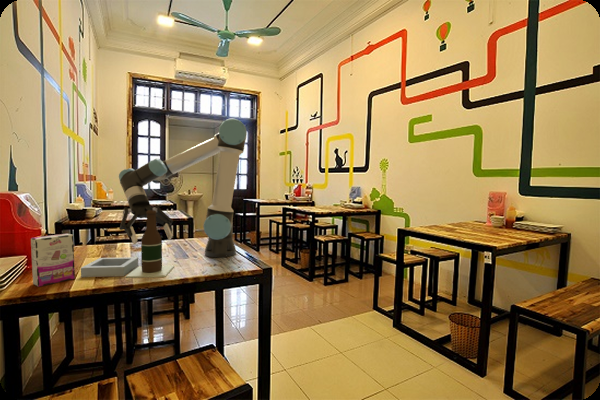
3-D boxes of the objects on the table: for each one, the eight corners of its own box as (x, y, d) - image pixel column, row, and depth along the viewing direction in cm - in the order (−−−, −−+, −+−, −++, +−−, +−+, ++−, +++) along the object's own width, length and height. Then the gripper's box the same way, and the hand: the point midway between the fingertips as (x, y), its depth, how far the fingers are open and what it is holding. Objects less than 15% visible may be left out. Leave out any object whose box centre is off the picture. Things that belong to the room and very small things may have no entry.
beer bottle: (147, 274, 119) (146, 212, 117) (137, 270, 124) (136, 210, 122) (166, 270, 125) (165, 210, 124) (156, 266, 130) (155, 209, 128)
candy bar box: (69, 276, 117) (68, 233, 116) (75, 278, 114) (74, 234, 113) (31, 284, 107) (30, 237, 106) (37, 287, 105) (35, 239, 104)
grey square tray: (138, 265, 133) (138, 257, 133) (124, 275, 119) (124, 266, 118) (100, 266, 131) (100, 257, 131) (81, 277, 116) (80, 267, 116)
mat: (174, 266, 132) (174, 265, 132) (165, 276, 119) (165, 275, 118) (139, 267, 130) (139, 266, 130) (125, 277, 116) (125, 276, 116)
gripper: (163, 204, 142) (180, 241, 133) (101, 206, 123) (116, 250, 115) (169, 193, 138) (186, 230, 130) (106, 194, 120) (121, 238, 111)
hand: (153, 240), depth 122 cm, fingers open, 13 cm apart
